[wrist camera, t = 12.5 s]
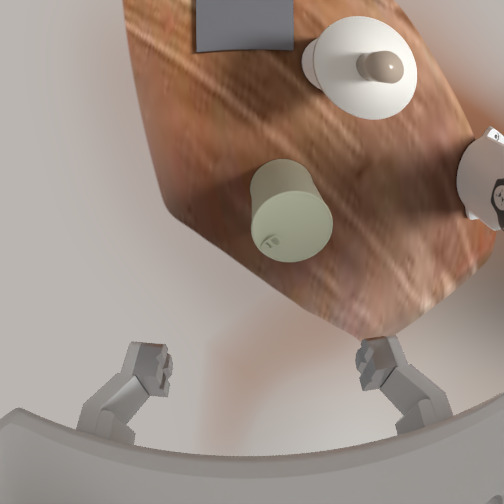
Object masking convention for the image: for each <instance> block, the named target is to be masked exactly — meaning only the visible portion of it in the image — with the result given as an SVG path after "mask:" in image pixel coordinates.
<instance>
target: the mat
mask: <svg viewBox="0 0 504 504" xmlns="http://www.w3.org/2000/svg"><path fill="white" fill-rule="evenodd" d="M196 42H197V52H198V53H199V52H210V51H225V50H287V51H293V50H294V21H293V0H196Z"/></svg>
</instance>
